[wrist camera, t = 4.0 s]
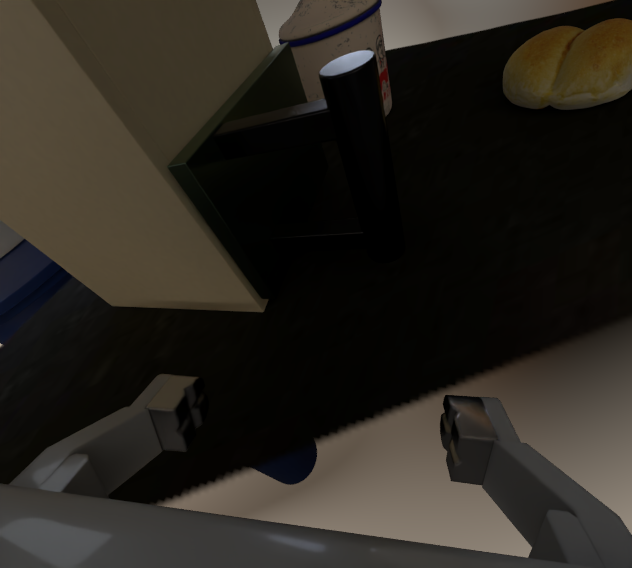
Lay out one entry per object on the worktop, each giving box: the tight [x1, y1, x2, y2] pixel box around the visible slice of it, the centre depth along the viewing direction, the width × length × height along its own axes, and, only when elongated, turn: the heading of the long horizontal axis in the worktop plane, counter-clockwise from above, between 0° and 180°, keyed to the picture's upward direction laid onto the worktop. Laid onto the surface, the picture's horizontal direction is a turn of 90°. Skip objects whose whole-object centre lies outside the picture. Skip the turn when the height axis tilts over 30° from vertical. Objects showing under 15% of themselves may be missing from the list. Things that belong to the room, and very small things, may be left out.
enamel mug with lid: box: [279, 0, 392, 117], centre depth 30 cm, size 12×9×12 cm
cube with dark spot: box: [0, 0, 273, 312], centre depth 21 cm, size 14×14×17 cm
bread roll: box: [503, 18, 632, 110], centre depth 24 cm, size 8×9×4 cm
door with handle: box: [167, 42, 405, 299], centre depth 21 cm, size 21×14×10 cm, turn 74°
